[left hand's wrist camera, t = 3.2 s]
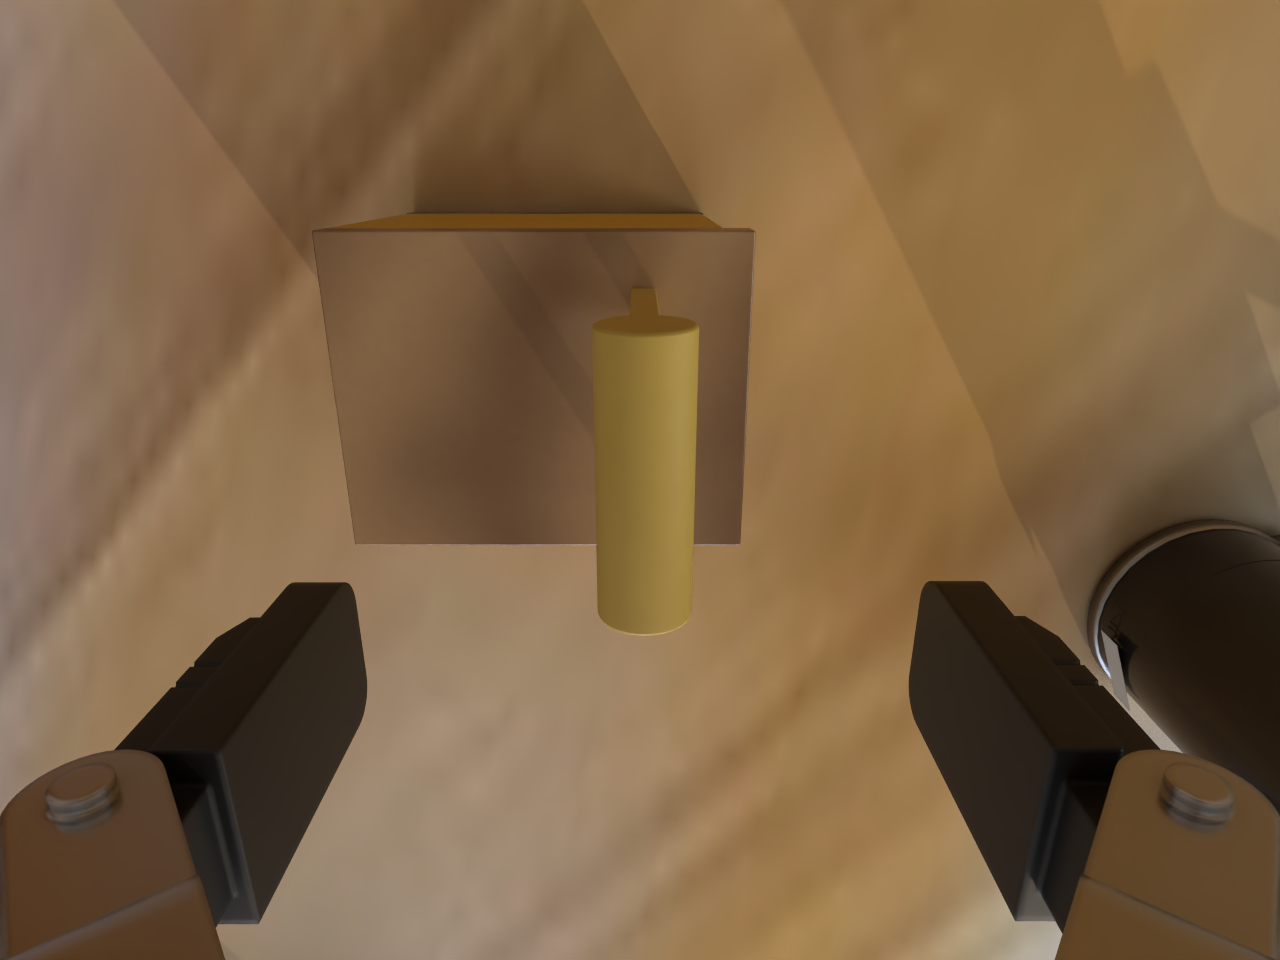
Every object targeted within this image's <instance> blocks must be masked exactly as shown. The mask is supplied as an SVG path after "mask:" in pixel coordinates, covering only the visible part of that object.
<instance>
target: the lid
mask: <svg viewBox="0 0 1280 960" xmlns="http://www.w3.org/2000/svg"><path fill="white" fill-rule="evenodd" d="M755 235H756V232H755V231H754V230H752V229H750V228H325V229H319V230H314V231H312V236H313V243H314V250H315V257H316V265H317V272H318V279H319V286H320V293H321V301H322V308H323V315H324V322H325V329H326V337H327V344H328V351H329V358H330V365H331V373H332V380H333V387H334V394H335V401H336V409H337V416H338V423H339V430H340V437H341V445H342V452H343V459H344V466H345V473H346V481H347V488H348V495H349V502H350V509H351V517H352V524H353V531H354V538H355V544H356V545H596V548H597V596H598V614H599V616H600V618H601V620H602V621H603V622H604V623H605V624H606V625H607V626H609V627H610V628H612V629H614V630H616V631H619V632H622V633H626V634H631V635H642V636H648V635H659V634H664V633H668V632H671V631H674V630H676V629H678V628H680V627H681V626H683V625H684V624H685V623H686V622H687V621H688V619H689V617H690V615H691V612H692V580H693V545H740V539H741V519H742V498H743V478H744V458H745V438H746V417H747V397H748V377H749V356H750V336H751V316H752V295H753V275H754V255H755Z"/></svg>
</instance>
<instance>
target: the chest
mask: <svg viewBox="0 0 1280 960" xmlns="http://www.w3.org/2000/svg"><path fill="white" fill-rule="evenodd" d="M331 228H722V227H720V226H719V225H717V224H716V223H714V222H713V221H711V220H710V219H708V218H707V217H705V216H703V214H702V213H511V212H413V213H407V214H405V215H400V216H394V217H388V218H383V219H377V220H371V221H366V222H360V223H354V224H349V225H343V226H337V227H331Z"/></svg>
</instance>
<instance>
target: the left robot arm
mask: <svg viewBox="0 0 1280 960" xmlns="http://www.w3.org/2000/svg"><path fill="white" fill-rule="evenodd" d="M1087 635H1088V641H1089V646H1090V649H1091V652H1092V654H1093V656H1094V658H1095V660H1096V662H1097V663H1098V665H1099V666H1100V667H1101V668H1102V670H1103V671H1104V672H1105V673H1106V674H1107V675H1108V676H1109V677H1110V678H1111V681H1112V686H1113V691H1114V694H1115V696H1116V697H1117V698H1118V699H1119V700H1120V701H1121V702H1122V703H1123V704H1124V705H1125V707H1126V708H1127V709H1128V710H1129V711H1130V708H1129V703H1128V698H1127V693H1128V694H1129V695H1130V696H1131V697H1132V698H1133V699H1134V700H1135V702H1136V703H1137V704H1138V705H1139V706H1140V707H1141V708H1142V709H1143V710H1144V711H1145V712H1146V713H1147V714H1148V716H1149V717H1150V718H1151V719H1152V720H1153V721H1154V722H1155V724H1156V725H1157V726H1158V727H1159V728H1160V729H1161V730H1162V731H1163V732H1164V733H1165V734H1166V735H1167V736H1168V737H1169V738H1170V740H1171V741H1172V742H1173V743H1174V744H1175V745H1176V746H1177V747H1178V748H1179V749H1180V750H1181V751H1182V752H1183V753H1179V752H1175V751H1167V750H1161V749H1160V748H1159V747H1158V746H1157V745H1156V744H1155V743H1154V742H1153V741H1152V739H1151V738H1150V737H1149V736H1148V735H1147V734H1146V733H1145V732H1144V731H1143V730H1142V728H1141V727H1140V726H1139V725H1138V724H1137V723H1136V722H1135V721H1134V720H1133V718H1132V717H1131V716H1130V715H1129V714H1128V713H1127V712H1126V711H1125V710H1124V708H1123V707H1122V706H1121V705H1120V704H1119V703H1118V702H1117V701H1116V700H1115V699H1114V697H1113V696H1112V695H1111V694H1110V693H1109V692H1108V691H1107V690H1106V689H1105V687H1104V686H1099V685H1098V680H1097V679H1096V678H1095V676H1094V675H1093V674H1092V673H1091V672H1090V671H1089V670H1088V669H1087V668H1086V666H1085V665H1080V660H1079V659H1078V658H1077V656H1076V655H1075V654H1074V653H1073V652H1072V651H1071V650H1070V649H1069V648H1068V647H1067V645H1066V644H1065V643H1064V642H1063V641H1062V640H1061V639H1060V638H1059V637H1058V636H1057V635H1055V634H1053V633H1052V632H1050V631H1048V630H1047V629H1045V628H1044V627H1042V626H1040V625H1039V624H1037V623H1035V622H1034V621H1032V620H1030V619H1029V618H1027V617H1025V616H1014V615H1013V614H1012V613H1011V611H1010V610H1009V609H1008V608H1007V607H1006V606H1005V604H1004V603H1003V602H1002V601H1001V600H1000V598H999V597H998V596H997V595H996V594H995V593H994V591H993V590H992V589H991V588H990V587H989V586H988V585H987V584H986V583H985V582H983V581H929V582H927V583H926V584H925V585H924V587H923V589H922V593H921V597H920V603H919V610H918V617H917V624H916V631H915V638H914V645H913V652H912V659H911V667H910V674H909V698H910V704H911V710H912V713H913V717H914V720H915V722H916V724H917V726H918V728H919V730H920V732H921V734H922V736H923V738H924V740H925V742H926V744H927V746H928V748H929V750H930V752H931V754H932V756H933V758H934V760H935V762H936V764H937V766H938V768H939V770H940V772H941V774H942V776H943V778H944V780H945V782H946V784H947V786H948V788H949V790H950V792H951V794H952V796H953V798H954V800H955V802H956V804H957V806H958V808H959V810H960V812H961V814H962V816H963V818H964V820H965V822H966V824H967V826H968V828H969V830H970V832H971V834H972V836H973V838H974V840H975V842H976V844H977V846H978V848H979V850H980V852H981V854H982V856H983V858H984V860H985V862H986V864H987V866H988V868H989V870H990V872H991V874H992V876H993V878H994V880H995V882H996V884H997V886H998V888H999V890H1000V892H1001V894H1002V896H1003V898H1004V900H1005V902H1006V904H1007V905H1008V907H1009V909H1010V911H1011V913H1012V915H1013V917H1014V919H1015V921H1056V923H1057V925H1058V926H1059V928H1060V930H1061V932H1062V934H1063V935H1062V938H1061V941H1060V944H1059V948H1058V951H1057V954H1056V958H1055V960H1280V535H1278V536H1268V535H1266V534H1264V533H1263V532H1261V531H1259V530H1257V529H1255V528H1253V527H1251V526H1248V525H1245V524H1242V523H1238V522H1234V521H1227V520H1200V521H1193V522H1188V523H1184V524H1180V525H1177V526H1174V527H1171V528H1168V529H1166V530H1163V531H1161V532H1158V533H1156V534H1155V535H1153V536H1151V537H1149V538H1147V539H1145V540H1144V541H1142V542H1140V543H1139V544H1138V545H1136V546H1135V547H1133V548H1132V549H1131V550H1130V551H1128V552H1127V553H1126V554H1125V555H1124V556H1122V557H1121V558H1120V559H1119V560H1118V561H1117V562H1116V563H1115V565H1114V566H1113V567H1112V568H1111V569H1110V570H1109V572H1108V573H1107V574H1106V576H1105V577H1104V578H1103V580H1102V582H1101V583H1100V585H1099V587H1098V588H1097V591H1096V593H1095V595H1094V597H1093V600H1092V602H1091V605H1090V609H1089V613H1088V620H1087ZM1126 692H1127V693H1126ZM366 698H367V676H366V669H365V662H364V655H363V648H362V641H361V634H360V627H359V620H358V613H357V606H356V600H355V595H354V592H353V589H352V587H351V586H350V585H349V584H348V583H346V582H295V583H291V584H289V585H288V586H287V587H286V588H285V589H284V591H283V592H282V593H281V594H280V595H279V596H278V598H277V599H276V600H275V601H274V602H273V603H272V605H271V606H270V607H269V608H268V609H267V610H266V612H265V613H264V614H263V615H262V616H261V617H260V618H249V619H247V620H245V621H244V622H242V623H240V624H239V625H237V626H236V627H234V628H232V629H231V630H229V631H227V632H226V633H224V634H222V635H221V636H219V637H217V638H216V639H215V640H214V641H213V642H212V643H211V644H210V646H209V647H208V648H207V649H206V650H205V651H204V652H203V653H202V654H201V655H200V657H199V658H198V659H197V660H196V661H195V662H194V667H189V669H188V670H187V671H186V672H185V673H184V674H183V675H182V676H181V677H180V678H179V680H178V681H177V682H176V687H171V688H170V689H169V691H168V692H167V693H166V694H165V695H164V696H163V697H162V698H161V699H160V700H159V701H158V703H157V704H156V705H155V706H154V707H153V708H152V709H151V710H150V711H149V712H148V714H147V715H146V716H145V717H144V718H143V719H142V720H141V721H140V722H139V723H138V725H137V726H136V727H135V728H134V729H133V730H132V731H131V732H130V733H129V734H128V735H127V737H126V738H125V739H124V740H123V741H122V742H121V743H120V744H119V745H118V746H117V748H116V749H115V750H113V751H105V752H101V753H96V754H92V755H89V756H85V757H82V758H79V759H76V760H74V761H71V762H68V763H66V764H64V765H62V766H59V767H57V768H55V769H53V770H51V771H49V772H48V773H46V774H44V775H42V776H41V777H39V778H37V779H36V780H35V781H33V782H32V783H30V784H29V785H27V786H26V787H25V788H24V789H23V790H21V791H20V792H19V793H18V794H17V795H16V796H15V797H14V798H13V799H12V800H11V801H10V802H9V803H8V805H7V806H6V807H5V809H4V810H3V812H2V814H1V816H0V960H225V958H224V954H223V951H222V948H221V944H220V941H219V938H218V935H217V931H216V927H217V925H218V924H259V922H260V920H261V918H262V916H263V914H264V912H265V910H266V908H267V906H268V904H269V903H270V901H271V899H272V897H273V895H274V893H275V891H276V889H277V887H278V885H279V883H280V881H281V879H282V877H283V875H284V873H285V871H286V869H287V867H288V865H289V863H290V861H291V859H292V857H293V855H294V853H295V851H296V849H297V847H298V845H299V843H300V842H301V840H302V838H303V836H304V834H305V832H306V830H307V828H308V826H309V824H310V822H311V820H312V818H313V816H314V814H315V812H316V810H317V808H318V806H319V804H320V802H321V800H322V798H323V796H324V794H325V792H326V790H327V788H328V786H329V784H330V782H331V781H332V779H333V777H334V775H335V773H336V771H337V769H338V767H339V765H340V763H341V761H342V759H343V757H344V755H345V753H346V751H347V749H348V747H349V745H350V743H351V741H352V739H353V737H354V735H355V733H356V731H357V729H358V727H359V725H360V723H361V721H362V718H363V714H364V710H365V705H366Z"/></svg>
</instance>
